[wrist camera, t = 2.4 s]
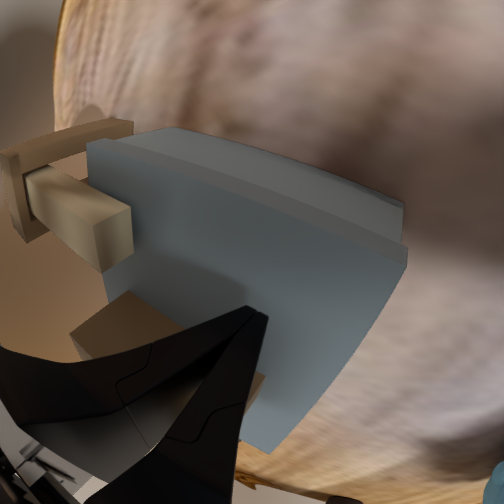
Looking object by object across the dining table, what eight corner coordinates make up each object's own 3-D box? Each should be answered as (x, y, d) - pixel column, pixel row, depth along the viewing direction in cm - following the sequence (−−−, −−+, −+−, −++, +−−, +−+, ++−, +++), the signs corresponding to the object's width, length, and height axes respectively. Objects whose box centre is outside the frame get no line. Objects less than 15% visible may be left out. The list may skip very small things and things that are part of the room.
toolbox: (404, 203, 12) (380, 358, 5) (301, 395, 22) (244, 487, 15) (110, 115, 19) (-2, 148, 11) (123, 287, 29) (56, 337, 22)
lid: (408, 235, 9) (382, 404, 4) (282, 433, 19) (239, 499, 14) (119, 134, 13) (6, 172, 8) (141, 345, 24) (90, 391, 19)
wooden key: (130, 206, 11) (92, 225, 10) (134, 253, 13) (101, 273, 11) (43, 162, 14) (18, 172, 13) (47, 194, 16) (24, 205, 14)
